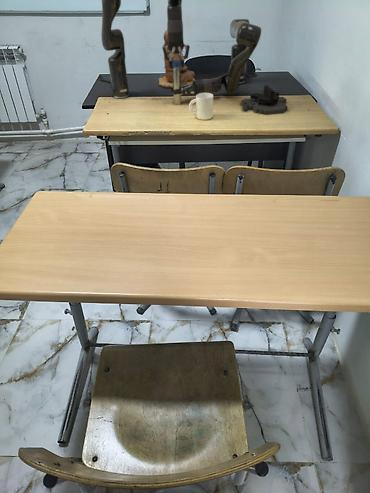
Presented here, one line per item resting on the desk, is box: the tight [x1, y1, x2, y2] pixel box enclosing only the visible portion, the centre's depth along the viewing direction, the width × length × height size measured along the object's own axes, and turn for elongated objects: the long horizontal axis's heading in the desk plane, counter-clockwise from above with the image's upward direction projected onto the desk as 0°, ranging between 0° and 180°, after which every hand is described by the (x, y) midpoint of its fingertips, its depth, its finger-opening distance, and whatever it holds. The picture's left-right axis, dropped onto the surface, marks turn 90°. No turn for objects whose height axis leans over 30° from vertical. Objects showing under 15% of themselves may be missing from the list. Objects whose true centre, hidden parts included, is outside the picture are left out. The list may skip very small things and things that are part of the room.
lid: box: [172, 60, 182, 67], centre depth 183 cm, size 5×5×2 cm
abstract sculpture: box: [240, 84, 289, 115], centre depth 183 cm, size 25×9×20 cm
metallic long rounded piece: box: [172, 67, 183, 105], centre depth 189 cm, size 4×4×19 cm
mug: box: [188, 93, 214, 121], centre depth 174 cm, size 12×8×10 cm
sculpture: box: [157, 29, 196, 89], centre depth 214 cm, size 27×24×30 cm
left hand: (176, 68), depth 184 cm, fingers closed on lid, 5 cm apart
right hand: (172, 91), depth 190 cm, fingers closed on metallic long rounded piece, 4 cm apart
